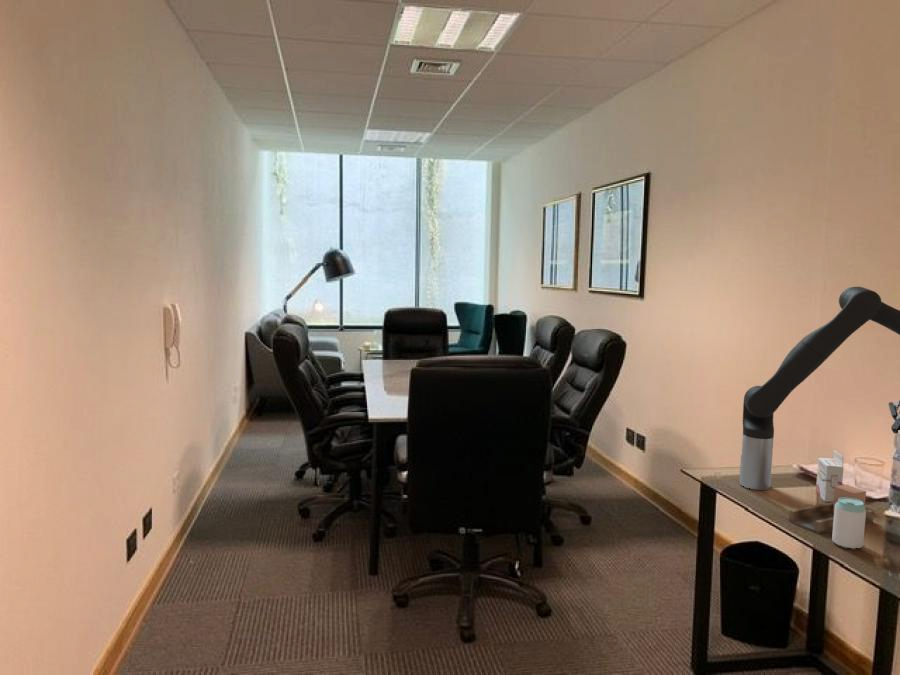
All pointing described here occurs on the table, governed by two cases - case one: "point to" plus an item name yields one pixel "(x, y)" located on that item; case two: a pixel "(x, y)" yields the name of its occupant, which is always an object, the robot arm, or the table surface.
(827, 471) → the ink cartridge box
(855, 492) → the block
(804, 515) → the chute
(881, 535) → the table surface
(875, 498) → the table surface
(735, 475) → the table surface
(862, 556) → the table surface
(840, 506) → the can
